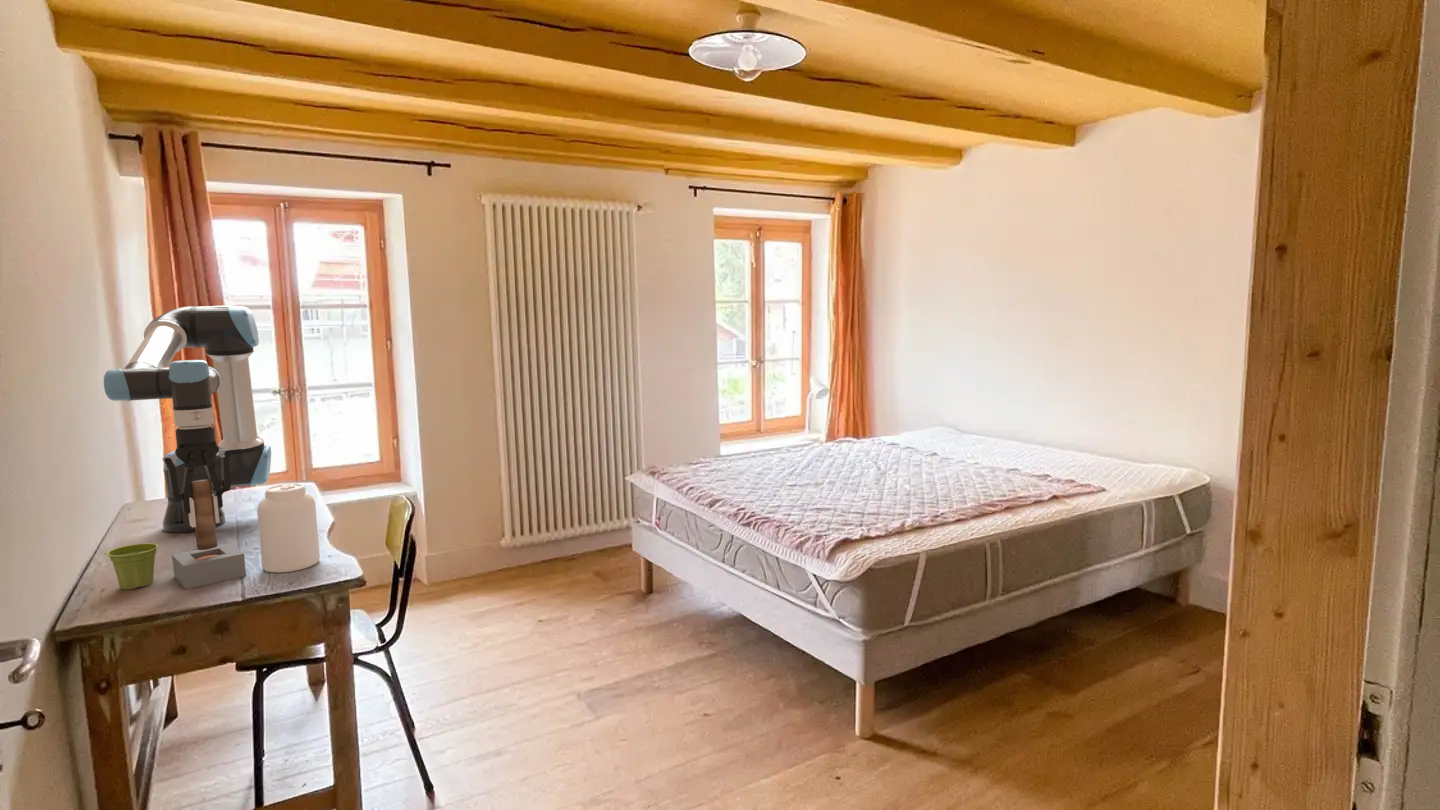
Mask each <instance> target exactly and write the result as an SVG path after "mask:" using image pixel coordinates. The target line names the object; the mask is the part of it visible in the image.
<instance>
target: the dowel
mask: <svg viewBox="0 0 1440 810" xmlns="http://www.w3.org/2000/svg"><path fill="white" fill-rule="evenodd" d="M191 495H192V499H193V500H194V508H195V518H196V527H195V531H194V532H195V543H196V550H207V549H212V548H215V547H217V545H218V539H217V529H216V526H215V518H214V508H213V498H212V488H211V480H197V481H193V482H192V484H191Z"/></svg>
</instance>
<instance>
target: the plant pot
mask: <svg viewBox="0 0 1440 810" xmlns="http://www.w3.org/2000/svg"><path fill="white" fill-rule="evenodd" d="M158 548H159V544H157V543H151V542H149V543H148V542H147V543H146V542H145V543H143V542H141V543H136V544H130V545H123V546H121V547H120V546H119V547H116V548H113V549H111V550H109V551H107V552H106V555H107V556H108V557H109V559H110V561H111V562H112V565H113V568H114V572H115V575H116V578H117V582H118V585H119V587H120V589H122V590H135V589H137V588H140V587H143V588H145V587H147V586H150V585H152V584H153V583H154V573H155V561H156V560H155V559H156V554H157V549H158Z"/></svg>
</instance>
